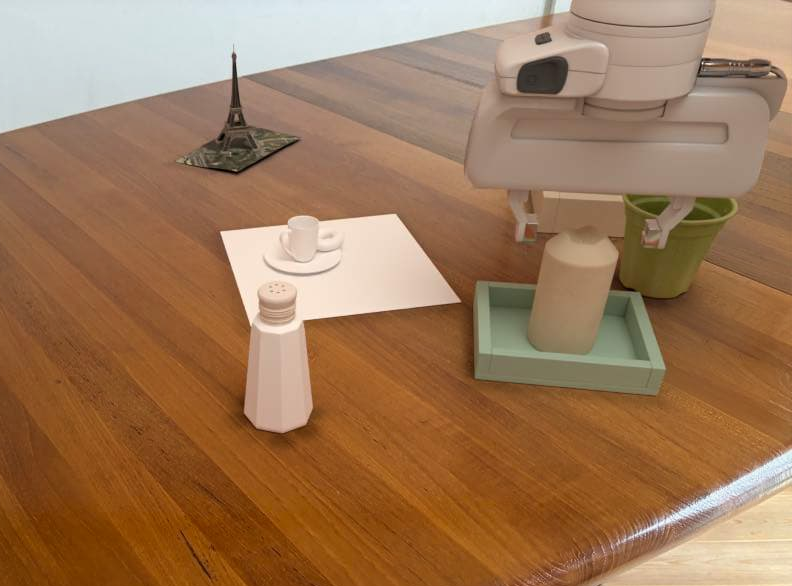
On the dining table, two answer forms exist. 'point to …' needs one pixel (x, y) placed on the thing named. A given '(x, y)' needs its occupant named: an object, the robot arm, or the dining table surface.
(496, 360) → the tray
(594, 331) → the candle
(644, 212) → the plant pot
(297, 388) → the pepper shaker
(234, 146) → the eiffel tower figurine
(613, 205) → the holder
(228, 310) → the dining table surface
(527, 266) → the dining table surface
